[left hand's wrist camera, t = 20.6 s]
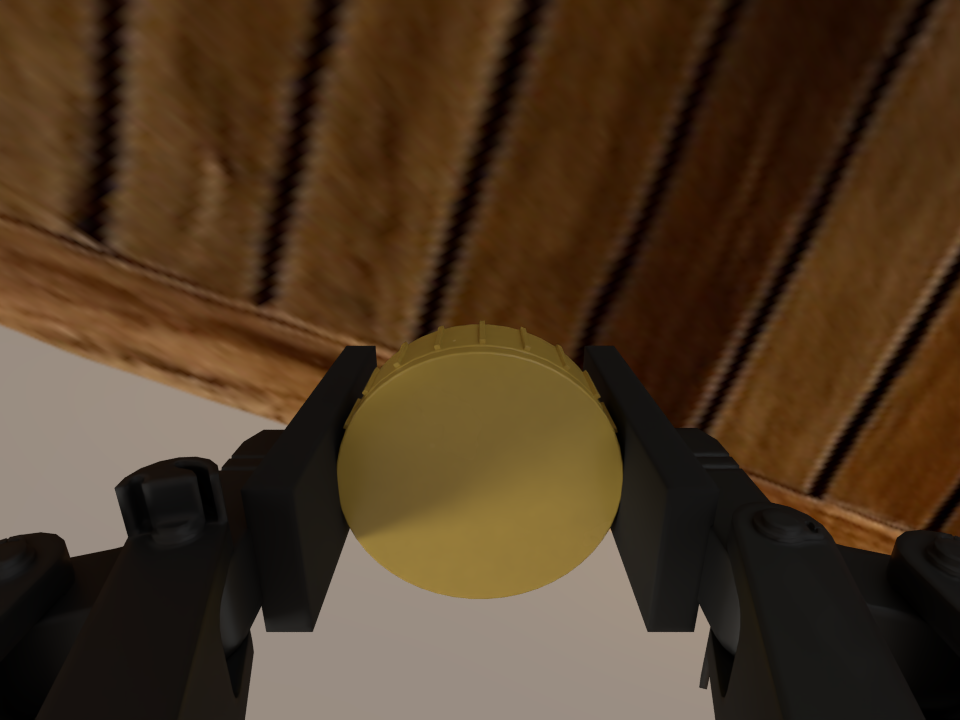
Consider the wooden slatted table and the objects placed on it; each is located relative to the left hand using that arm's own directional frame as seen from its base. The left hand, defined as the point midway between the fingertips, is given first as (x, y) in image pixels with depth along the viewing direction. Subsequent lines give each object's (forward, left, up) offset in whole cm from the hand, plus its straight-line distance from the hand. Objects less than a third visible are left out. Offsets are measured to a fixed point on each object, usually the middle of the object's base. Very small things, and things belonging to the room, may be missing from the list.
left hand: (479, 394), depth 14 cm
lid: (0, 0, +4) cm, 4 cm away
